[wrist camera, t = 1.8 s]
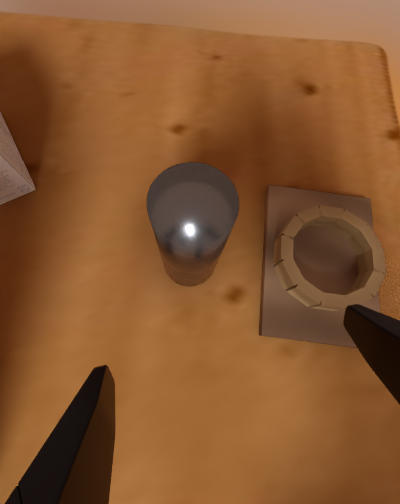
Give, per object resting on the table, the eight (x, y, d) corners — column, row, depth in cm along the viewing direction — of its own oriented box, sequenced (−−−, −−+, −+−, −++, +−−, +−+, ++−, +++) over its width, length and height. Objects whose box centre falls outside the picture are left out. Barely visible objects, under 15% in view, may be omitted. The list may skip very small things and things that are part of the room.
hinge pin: (224, 253, 24) (255, 189, 13) (198, 296, 23) (209, 263, 12) (181, 228, 24) (179, 148, 14) (153, 269, 23) (127, 214, 13)
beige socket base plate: (376, 350, 22) (403, 352, 19) (259, 335, 22) (269, 335, 19) (365, 202, 26) (385, 187, 24) (266, 189, 26) (275, 172, 23)
